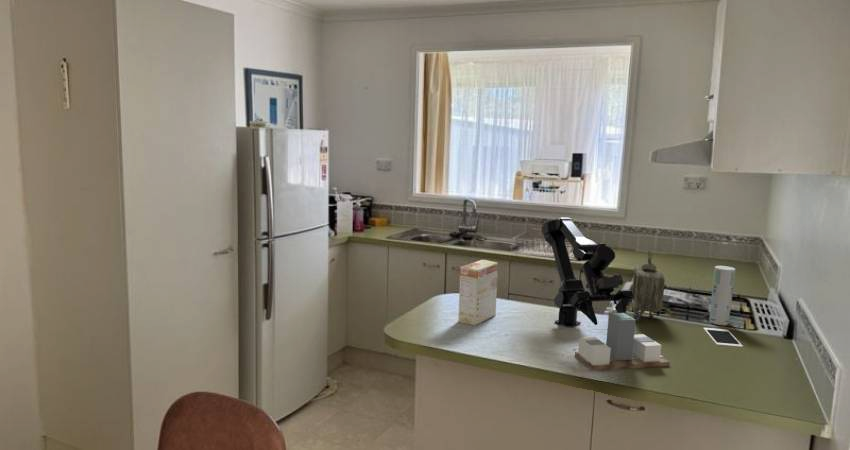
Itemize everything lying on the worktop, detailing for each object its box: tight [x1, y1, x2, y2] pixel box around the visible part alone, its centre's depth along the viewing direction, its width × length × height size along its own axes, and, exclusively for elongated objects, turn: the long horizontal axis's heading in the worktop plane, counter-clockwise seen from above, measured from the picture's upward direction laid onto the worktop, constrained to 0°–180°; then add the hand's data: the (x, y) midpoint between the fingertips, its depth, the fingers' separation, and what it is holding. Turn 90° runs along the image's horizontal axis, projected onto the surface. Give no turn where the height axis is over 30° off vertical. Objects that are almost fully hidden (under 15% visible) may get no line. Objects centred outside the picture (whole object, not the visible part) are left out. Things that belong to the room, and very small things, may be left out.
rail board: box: [574, 351, 671, 372], centre depth 171 cm, size 24×11×2 cm, turn 102°
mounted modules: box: [577, 333, 662, 365], centre depth 170 cm, size 21×9×5 cm, turn 102°
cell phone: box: [703, 327, 744, 348], centre depth 193 cm, size 8×16×1 cm, turn 169°
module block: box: [605, 312, 637, 361], centre depth 169 cm, size 6×5×12 cm
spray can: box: [708, 265, 736, 326], centre depth 207 cm, size 6×6×20 cm
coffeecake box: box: [457, 259, 499, 326], centre depth 203 cm, size 15×7×20 cm, turn 144°
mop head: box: [631, 249, 666, 322], centre depth 209 cm, size 14×9×25 cm, turn 164°
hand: (610, 323), depth 175 cm, fingers open, 9 cm apart
